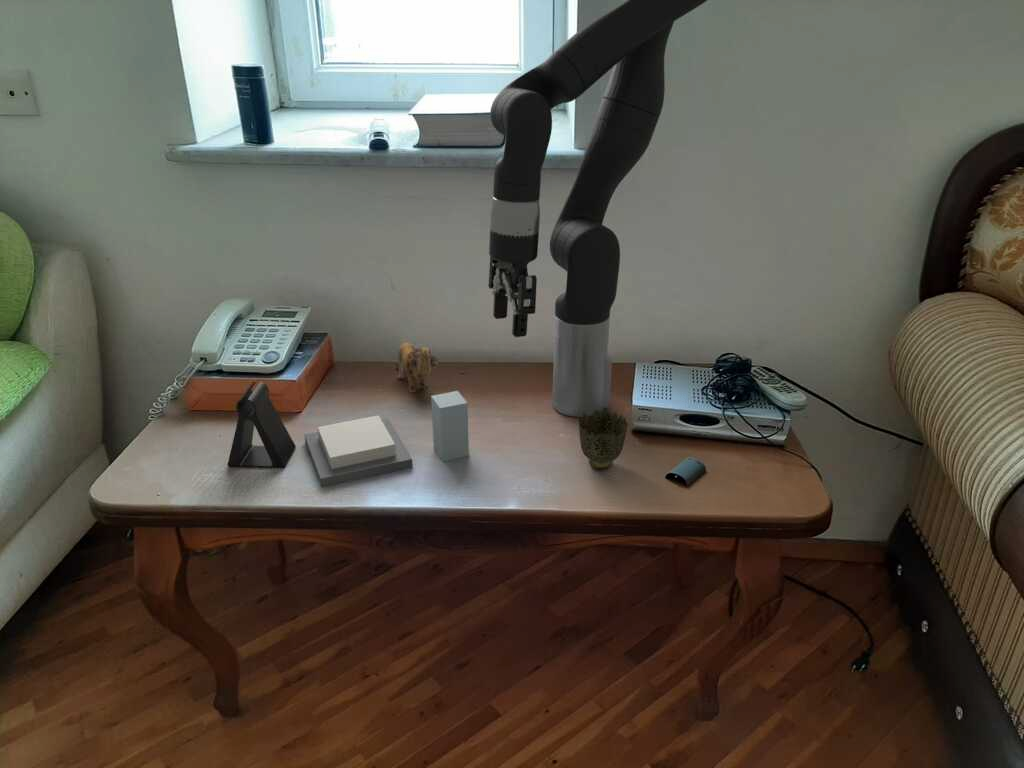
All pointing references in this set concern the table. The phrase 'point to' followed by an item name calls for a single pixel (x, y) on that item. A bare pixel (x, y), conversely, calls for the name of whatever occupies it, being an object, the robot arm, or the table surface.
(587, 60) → the robot arm
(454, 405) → the blue-grey block
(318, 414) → the table surface
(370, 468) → the display stand
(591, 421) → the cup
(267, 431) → the black phone stand
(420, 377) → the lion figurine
